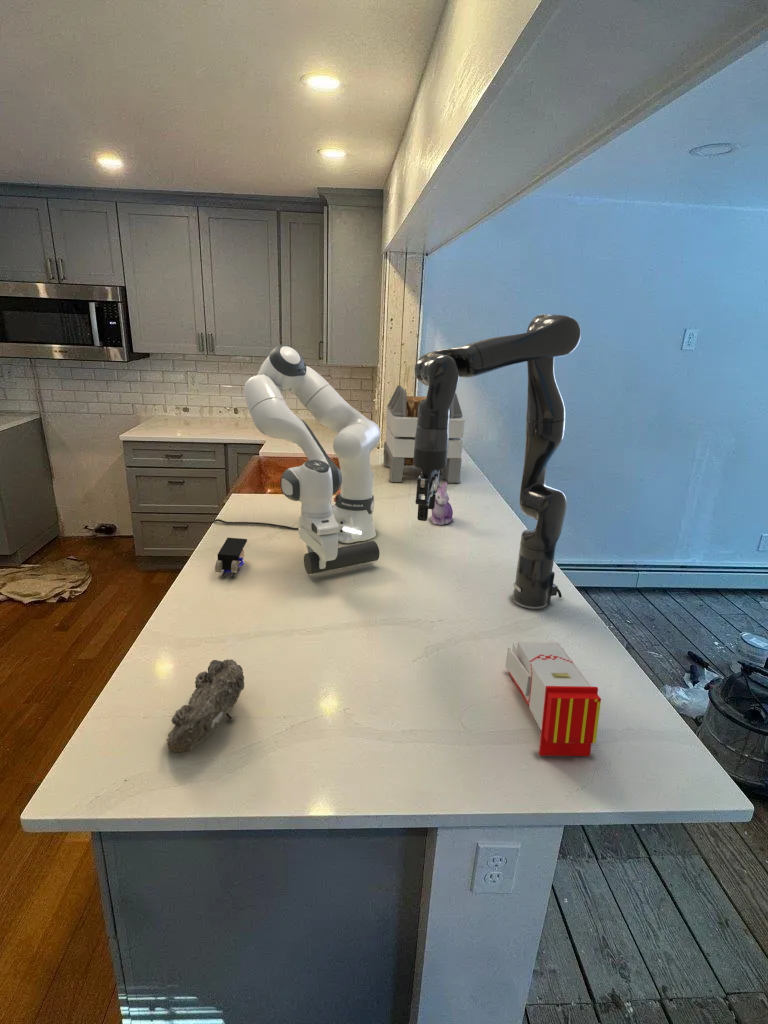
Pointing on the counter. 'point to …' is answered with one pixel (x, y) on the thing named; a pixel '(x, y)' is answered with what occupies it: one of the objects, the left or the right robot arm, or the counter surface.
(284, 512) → the counter surface
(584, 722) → the toy
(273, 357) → the left robot arm
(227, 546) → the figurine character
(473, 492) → the counter surface
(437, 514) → the figurine
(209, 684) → the fossil
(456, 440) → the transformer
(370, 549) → the rod
